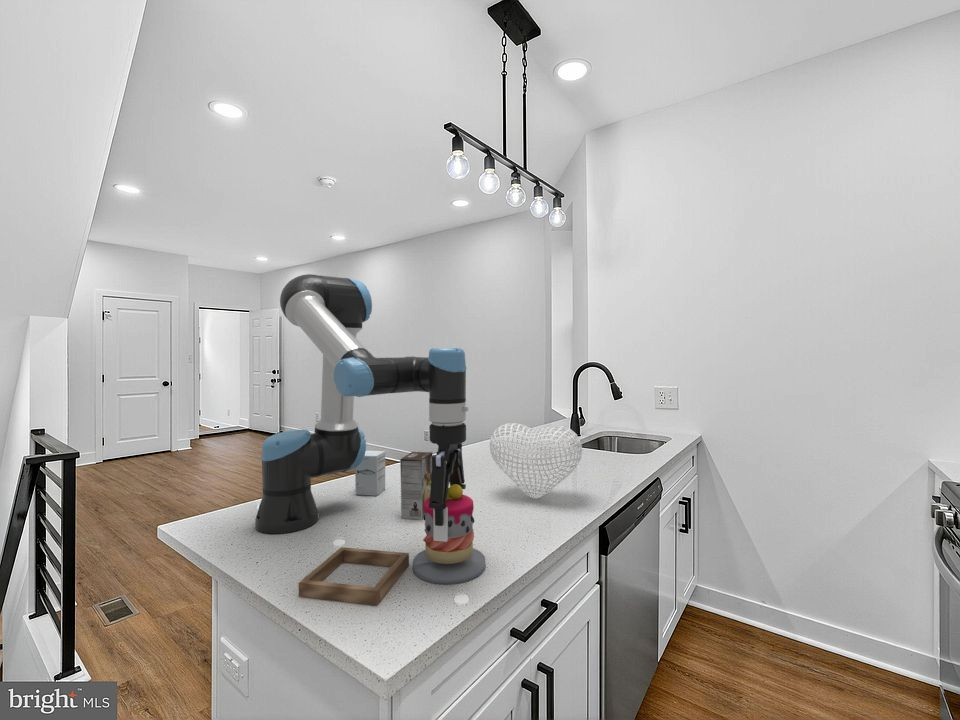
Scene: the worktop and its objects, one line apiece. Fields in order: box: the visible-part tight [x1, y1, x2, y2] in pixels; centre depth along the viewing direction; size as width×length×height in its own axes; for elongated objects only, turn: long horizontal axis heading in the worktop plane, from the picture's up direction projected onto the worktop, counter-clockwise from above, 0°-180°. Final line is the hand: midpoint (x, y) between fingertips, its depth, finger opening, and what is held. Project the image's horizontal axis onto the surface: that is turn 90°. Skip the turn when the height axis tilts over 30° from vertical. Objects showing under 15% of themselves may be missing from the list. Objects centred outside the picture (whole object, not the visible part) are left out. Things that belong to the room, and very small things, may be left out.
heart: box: [489, 422, 583, 499], centre depth 138 cm, size 28×16×22 cm, turn 65°
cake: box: [422, 481, 475, 564], centre depth 95 cm, size 10×11×15 cm
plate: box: [412, 547, 486, 585], centre depth 95 cm, size 15×15×1 cm
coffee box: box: [399, 451, 433, 521], centre depth 126 cm, size 9×6×16 cm
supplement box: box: [354, 450, 386, 497], centre depth 145 cm, size 7×7×13 cm
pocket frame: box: [297, 546, 410, 606], centre depth 90 cm, size 15×15×2 cm
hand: (448, 529), depth 95 cm, fingers closed on cake, 10 cm apart
